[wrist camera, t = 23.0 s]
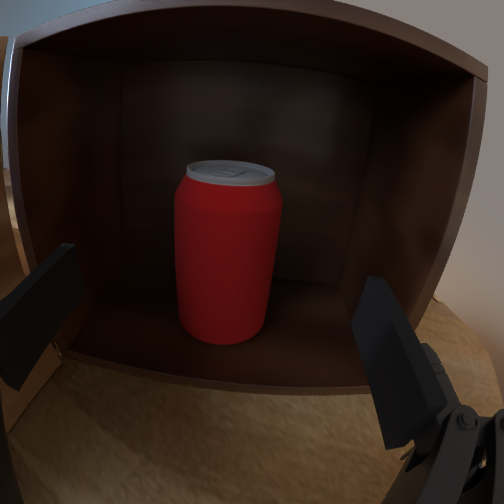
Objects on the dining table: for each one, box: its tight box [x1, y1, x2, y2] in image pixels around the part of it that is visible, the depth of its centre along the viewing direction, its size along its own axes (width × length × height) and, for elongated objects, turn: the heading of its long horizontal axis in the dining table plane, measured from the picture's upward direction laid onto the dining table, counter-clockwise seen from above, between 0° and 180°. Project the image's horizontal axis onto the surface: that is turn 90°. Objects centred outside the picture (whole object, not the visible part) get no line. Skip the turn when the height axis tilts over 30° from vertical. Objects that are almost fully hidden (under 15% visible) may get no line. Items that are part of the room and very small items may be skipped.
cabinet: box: [7, 0, 488, 395], centre depth 18 cm, size 14×24×22 cm, turn 88°
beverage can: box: [174, 160, 283, 345], centre depth 19 cm, size 7×7×12 cm
